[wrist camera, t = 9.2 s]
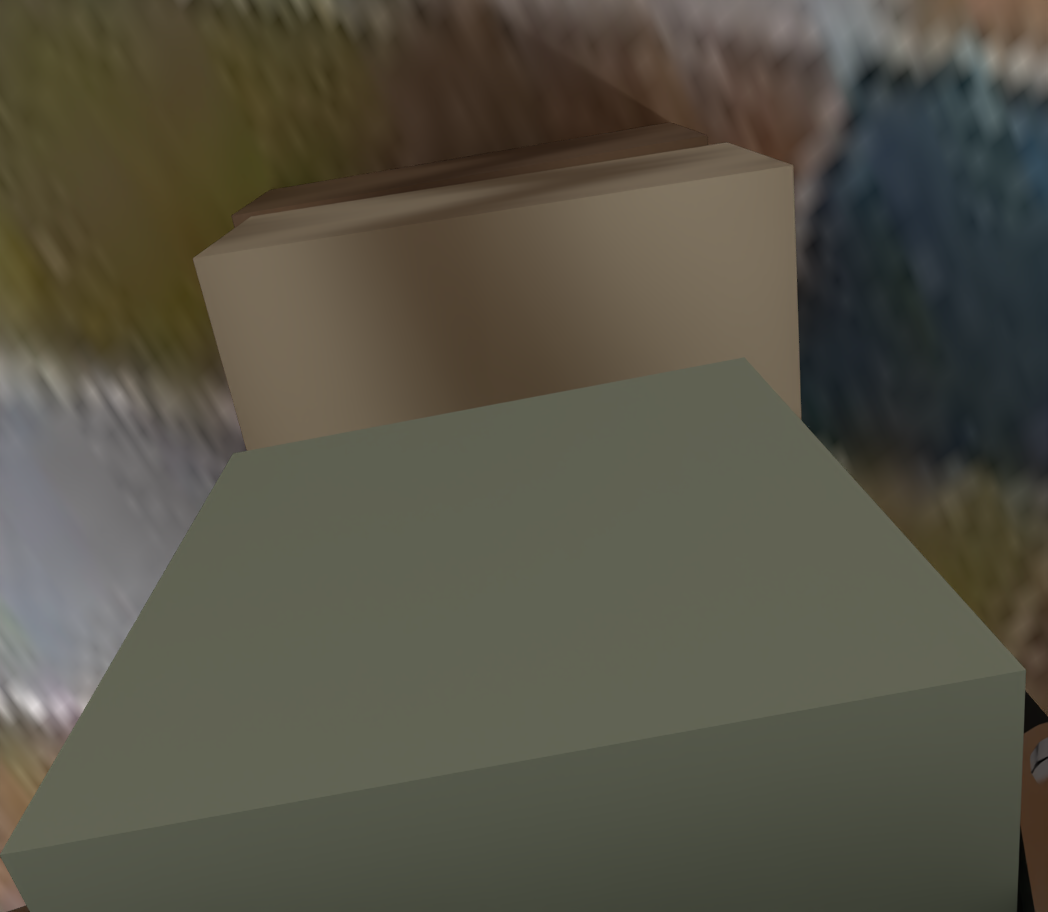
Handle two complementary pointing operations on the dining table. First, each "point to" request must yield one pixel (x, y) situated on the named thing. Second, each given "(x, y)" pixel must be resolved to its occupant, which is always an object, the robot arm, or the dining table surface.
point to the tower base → (478, 168)
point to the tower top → (505, 291)
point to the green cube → (544, 682)
